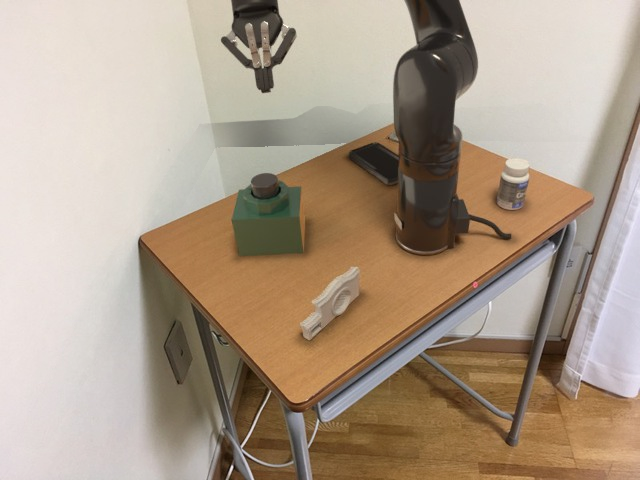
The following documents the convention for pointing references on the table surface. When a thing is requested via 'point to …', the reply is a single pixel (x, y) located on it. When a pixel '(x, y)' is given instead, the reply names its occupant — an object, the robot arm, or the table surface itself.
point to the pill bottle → (513, 184)
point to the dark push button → (265, 186)
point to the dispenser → (269, 222)
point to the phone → (377, 162)
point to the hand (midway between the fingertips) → (266, 92)
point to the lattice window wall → (332, 302)
